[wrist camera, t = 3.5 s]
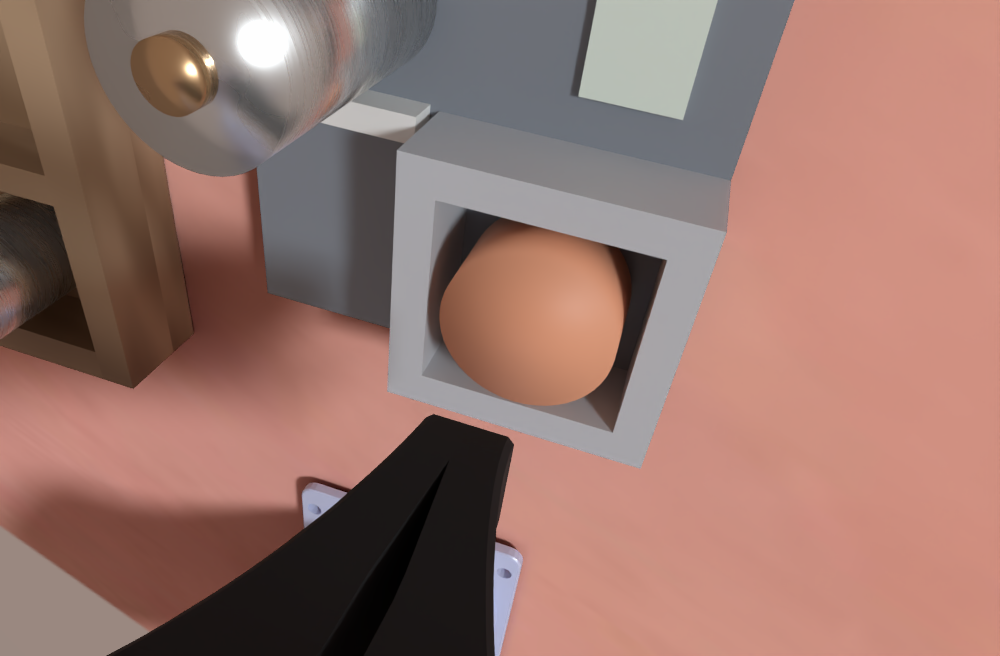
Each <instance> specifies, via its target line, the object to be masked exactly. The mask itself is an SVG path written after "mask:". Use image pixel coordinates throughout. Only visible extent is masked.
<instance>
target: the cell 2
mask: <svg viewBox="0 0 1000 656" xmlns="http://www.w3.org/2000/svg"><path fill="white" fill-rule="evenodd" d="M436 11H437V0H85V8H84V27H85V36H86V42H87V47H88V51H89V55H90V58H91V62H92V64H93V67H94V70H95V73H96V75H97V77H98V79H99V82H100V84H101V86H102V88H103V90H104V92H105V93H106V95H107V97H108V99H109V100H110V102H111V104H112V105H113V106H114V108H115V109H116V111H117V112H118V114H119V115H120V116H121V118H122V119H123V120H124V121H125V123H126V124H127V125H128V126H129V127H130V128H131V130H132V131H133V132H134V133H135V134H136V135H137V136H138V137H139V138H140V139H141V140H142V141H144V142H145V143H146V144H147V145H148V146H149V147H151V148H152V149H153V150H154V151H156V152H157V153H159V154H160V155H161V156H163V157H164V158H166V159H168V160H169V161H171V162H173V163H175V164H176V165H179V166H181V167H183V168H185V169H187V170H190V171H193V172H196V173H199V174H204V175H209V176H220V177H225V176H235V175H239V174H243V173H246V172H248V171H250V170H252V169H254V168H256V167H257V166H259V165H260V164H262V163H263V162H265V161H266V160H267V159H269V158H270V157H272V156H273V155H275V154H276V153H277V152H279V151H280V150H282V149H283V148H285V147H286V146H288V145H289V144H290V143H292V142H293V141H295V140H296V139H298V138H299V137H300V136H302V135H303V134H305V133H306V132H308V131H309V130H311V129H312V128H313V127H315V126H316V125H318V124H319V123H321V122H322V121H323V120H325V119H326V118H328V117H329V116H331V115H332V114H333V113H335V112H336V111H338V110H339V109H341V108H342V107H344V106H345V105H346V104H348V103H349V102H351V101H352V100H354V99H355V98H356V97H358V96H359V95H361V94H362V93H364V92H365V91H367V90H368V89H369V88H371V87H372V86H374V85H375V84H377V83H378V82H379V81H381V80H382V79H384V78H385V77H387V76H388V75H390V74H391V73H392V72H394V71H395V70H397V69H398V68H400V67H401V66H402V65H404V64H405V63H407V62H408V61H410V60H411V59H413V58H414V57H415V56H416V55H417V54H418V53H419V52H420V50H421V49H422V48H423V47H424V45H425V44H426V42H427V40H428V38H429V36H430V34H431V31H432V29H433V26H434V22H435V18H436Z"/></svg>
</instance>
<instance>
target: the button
mask: <svg viewBox="0 0 1000 656" xmlns="http://www.w3.org/2000/svg"><path fill="white" fill-rule="evenodd" d="M631 292H632V284H631V276H630V272H629V268H628V265H627V263H626V261H625V258H624V256H623V255H622V253H621V251H620V250H619V248H618V247H615V246H611V245H607V244H603V243H599V242H595V241H591V240H587V239H584V238H580V237H576V236H572V235H568V234H564V233H560V232H556V231H553V230H549V229H545V228H541V227H537V226H533V225H529V224H525V223H522V222H518V221H514V220H510V219H506V218H502V217H501V218H500V219H498V220H497V221H495V222H494V223H493V224H492V225H490V226H489V227H488V228H487V229H486V230H485V232H484V233H483V234H482V235H481V237H480V238H479V240H478V241H477V243H476V244H475V246H474V247H473V249H472V250H471V252H470V253H469V255H468V256H467V258H466V259H465V261H464V262H463V264H462V265H461V267H460V268H459V270H458V271H457V273H456V274H455V276H454V277H453V279H452V280H451V282H450V283H449V285H448V287H447V288H446V290H445V292H444V295H443V298H442V300H441V305H440V314H439V321H440V328H441V333H442V336H443V340H444V342H445V344H446V347H447V349H448V351H449V352H450V354H451V356H452V358H453V359H454V360H455V362H456V363H457V364H458V366H459V367H460V368H461V369H462V370H463V371H464V372H465V373H466V374H467V375H468V376H469V377H470V378H471V379H472V380H474V381H475V382H476V383H478V384H479V385H480V386H482V387H483V388H485V389H487V390H488V391H490V392H492V393H494V394H496V395H498V396H500V397H502V398H505V399H508V400H511V401H514V402H518V403H522V404H528V405H536V406H551V405H560V404H565V403H569V402H572V401H575V400H578V399H580V398H582V397H584V396H586V395H587V394H589V393H591V392H592V391H594V390H595V389H596V388H597V387H598V386H599V385H600V384H601V383H602V382H603V381H604V380H605V378H606V377H607V375H608V374H609V372H610V370H611V368H612V366H613V363H614V361H615V357H616V353H617V350H618V346H619V342H620V338H621V335H622V331H623V327H624V323H625V320H626V316H627V312H628V309H629V305H630V300H631Z"/></svg>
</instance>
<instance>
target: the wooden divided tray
mask: <svg viewBox="0 0 1000 656" xmlns="http://www.w3.org/2000/svg"><path fill="white" fill-rule="evenodd" d="M84 8H85V0H0V195H2V194H4V193H9V194H12V195H16V196H19V197H23V198H26V199H30V200H33V201H37V202H40V203H44V204H47V205H51V206H54V209H55V213H56V216H57V220H58V223H59V227H60V230H61V234H62V237H63V241H64V244H65V248H66V251H67V255H68V258H69V262H70V265H71V269H72V272H73V276H74V279H75V283H76V286H77V287H76V288H75V289H73V290H72V291H70V292H69V293H67V294H66V295H64V296H63V297H61V298H60V299H59V300H57V301H56V302H54V303H53V304H51V305H50V306H48V307H47V308H45V309H44V310H42V311H41V312H40V313H38V314H37V315H35V316H34V317H32V318H31V319H29V320H28V321H26V322H25V323H24V324H22V325H21V326H19V327H18V328H16V329H15V330H13V331H12V332H10V333H9V334H7V335H6V336H5V337H3V338H2V339H0V346H3V347H6V348H9V349H12V350H15V351H18V352H22V353H25V354H28V355H31V356H34V357H37V358H40V359H43V360H46V361H49V362H52V363H56V364H59V365H62V366H65V367H68V368H71V369H74V370H77V371H80V372H83V373H86V374H90V375H93V376H96V377H99V378H102V379H105V380H108V381H111V382H114V383H117V384H120V385H123V386H127V387H130V388H133V389H134V388H135V387H136V386H137V385H138V384H139V383H140V382H141V381H142V380H143V379H144V378H146V377H147V376H148V375H149V374H150V373H151V372H152V371H153V370H154V369H155V368H156V367H158V366H159V365H160V364H161V363H162V362H163V361H164V360H165V359H166V358H167V357H169V356H170V355H171V354H172V353H173V352H174V351H175V350H176V349H177V348H178V347H179V346H181V345H182V344H183V343H184V342H185V341H186V340H187V339H188V338H189V337H190V336H192V335H193V334H194V332H193V326H192V320H191V315H190V309H189V303H188V297H187V292H186V286H185V280H184V274H183V269H182V263H181V257H180V251H179V246H178V240H177V234H176V228H175V223H174V217H173V211H172V205H171V200H170V194H169V188H168V182H167V177H166V171H165V165H164V159H163V156H161V155H160V154H159V153H157V152H156V151H154V150H153V149H152V148H151V147H149V146H148V145H147V144H146V143H145V142H144V141H142V140H141V139H140V138H139V137H138V136H137V135H136V134H135V133H134V132H133V131H132V130H131V128H130V127H129V126H128V125H127V124H126V123H125V121H124V120H123V119H122V118H121V116H120V115H119V114H118V112H117V111H116V109H115V108H114V106H113V105H112V104H111V102H110V100H109V99H108V97H107V95H106V93H105V92H104V90H103V88H102V86H101V84H100V82H99V79H98V77H97V75H96V73H95V70H94V67H93V64H92V62H91V58H90V55H89V51H88V47H87V42H86V36H85V27H84Z"/></svg>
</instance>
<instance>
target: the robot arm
mask: <svg viewBox="0 0 1000 656" xmlns="http://www.w3.org/2000/svg"><path fill="white" fill-rule="evenodd" d="M513 447H514V444H513V443H512V441H511V440H510V439H509V437H507V436H503V435H500V434H497V433H493V432H490V431H487V430H484V429H480V428H477V427H474V426H471V425H467V424H464V423H461V422H457V421H454V420H451V419H448V418H444V417H441V416H438V415H435V414H433V415H431V416H428V417H426V418H425V419H424V420H423V421H422V422H421V424H420V425H419V426H418V427H417V428H416V429H415V430H414V431H413V432H412V433H411V434H410V435H409V436H408V437H407V438H406V439H405V440H404V441H403V442H402V443H401V444H400V445H399V446H398V447H397V448H396V449H395V450H394V451H393V452H392V453H391V454H390V455H389V456H388V457H387V458H386V459H385V460H384V461H383V462H382V463H381V464H379V465H378V466H377V467H376V468H375V469H374V470H373V471H372V472H371V473H370V474H369V475H368V476H366V477H365V478H364V479H363V480H362V481H361V482H360V483H358V484H357V485H356V486H355V487H354V488H353V489H352V490H350V491H349V492H348V493H347V492H344V491H341V490H338V489H335V488H332V487H329V486H326V485H323V484H320V483H309V484H308V485H307V486H306V487H305V489H304V490H303V491H302V506H303V521H304V529H303V530H302V531H300V532H299V533H298V534H297V535H295V536H294V537H293V538H292V539H290V540H289V541H288V542H286V543H285V544H284V545H283V546H281V547H280V548H279V549H277V550H276V551H274V552H273V553H272V554H270V555H269V556H268V557H266V558H265V559H263V560H262V561H261V562H259V563H258V564H256V565H255V566H253V567H252V568H251V569H249V570H248V571H246V572H245V573H243V574H242V575H240V576H239V577H237V578H236V579H234V580H233V581H231V582H230V583H228V584H227V585H226V586H224V587H223V588H221V589H219V590H218V591H216V592H215V593H213V594H212V595H210V596H208V597H207V598H205V599H204V600H202V601H200V602H199V603H197V604H196V605H194V606H192V607H191V608H189V609H187V610H186V611H184V612H183V613H181V614H179V615H178V616H176V617H175V618H173V619H171V620H170V621H168V622H166V623H165V624H163V625H161V626H159V627H158V628H156V629H154V630H153V631H151V632H149V633H147V634H146V635H144V636H142V637H140V638H139V639H137V640H135V641H133V642H131V643H129V644H128V645H126V646H124V647H122V648H120V649H118V650H116V651H114V652H112V653H111V654H109V655H107V656H500V653H501V649H502V645H503V640H504V636H505V632H506V628H507V624H508V620H509V616H510V612H511V608H512V604H513V600H514V596H515V591H516V587H517V583H518V579H519V575H520V571H521V567H522V563H523V557H522V555H521V554H520V552H518V551H517V550H516V549H514V548H512V547H510V546H507V545H504V544H500V543H497V542H495V541H496V528H497V525H498V521H499V517H500V512H501V507H502V502H503V497H504V492H505V487H506V482H507V477H508V472H509V467H510V462H511V457H512V452H513Z"/></svg>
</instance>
